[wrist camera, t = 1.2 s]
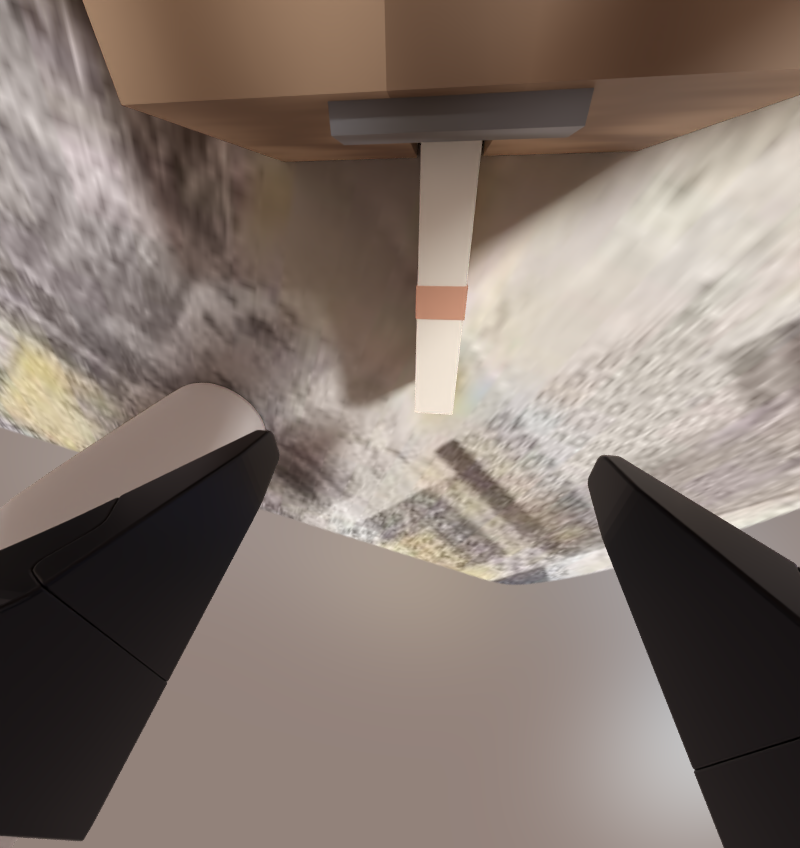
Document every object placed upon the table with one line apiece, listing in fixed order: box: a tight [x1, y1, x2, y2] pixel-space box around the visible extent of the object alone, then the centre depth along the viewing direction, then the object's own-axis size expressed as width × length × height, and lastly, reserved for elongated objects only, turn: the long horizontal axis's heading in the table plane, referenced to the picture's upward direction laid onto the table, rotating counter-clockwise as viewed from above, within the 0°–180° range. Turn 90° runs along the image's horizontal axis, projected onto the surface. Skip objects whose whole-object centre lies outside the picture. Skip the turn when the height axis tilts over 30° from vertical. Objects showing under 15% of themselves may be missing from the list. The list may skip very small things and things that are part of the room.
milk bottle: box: [0, 383, 266, 550], centre depth 16 cm, size 8×8×20 cm
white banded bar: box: [415, 140, 482, 415], centre depth 12 cm, size 2×16×6 cm, turn 1°
